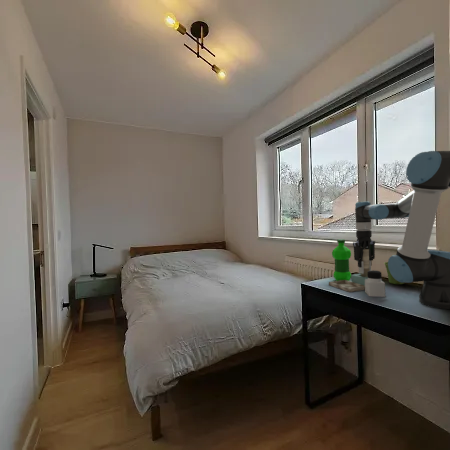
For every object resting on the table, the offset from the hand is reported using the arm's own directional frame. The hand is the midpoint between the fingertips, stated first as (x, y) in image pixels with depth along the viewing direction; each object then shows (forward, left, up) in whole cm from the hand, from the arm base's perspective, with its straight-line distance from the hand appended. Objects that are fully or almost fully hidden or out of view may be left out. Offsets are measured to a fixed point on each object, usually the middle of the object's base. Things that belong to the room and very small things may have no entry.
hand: (365, 272), depth 149 cm
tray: (+2, +10, -8) cm, 13 cm away
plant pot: (-3, -19, -8) cm, 21 cm away
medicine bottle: (-14, +8, -8) cm, 18 cm away
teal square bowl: (0, 0, -8) cm, 8 cm away
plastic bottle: (+14, +3, -8) cm, 16 cm away
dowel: (0, 0, -7) cm, 7 cm away
